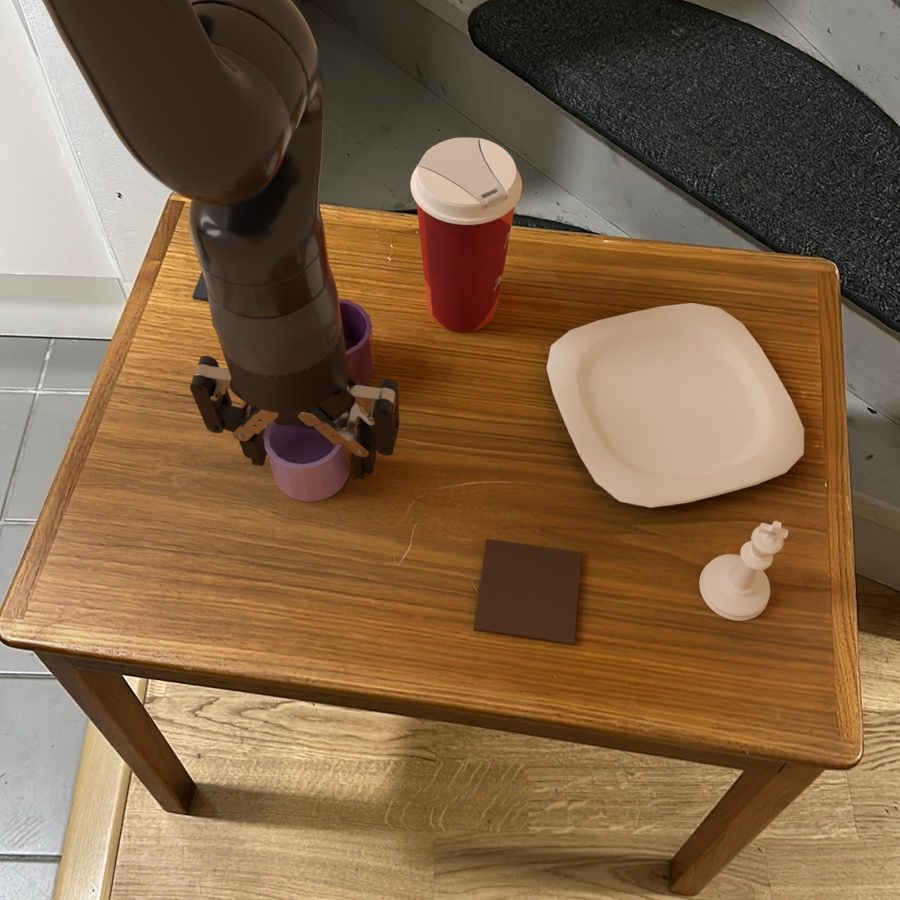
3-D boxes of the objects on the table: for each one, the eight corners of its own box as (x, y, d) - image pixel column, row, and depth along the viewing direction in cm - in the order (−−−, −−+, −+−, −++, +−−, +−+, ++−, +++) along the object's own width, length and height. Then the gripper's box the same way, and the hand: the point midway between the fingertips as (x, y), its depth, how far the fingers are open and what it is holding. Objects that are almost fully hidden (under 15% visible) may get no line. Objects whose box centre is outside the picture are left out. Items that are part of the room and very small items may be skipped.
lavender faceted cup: (265, 496, 70) (254, 462, 65) (284, 432, 73) (274, 395, 68) (341, 507, 69) (334, 473, 65) (356, 442, 72) (351, 406, 68)
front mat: (473, 630, 64) (473, 628, 64) (486, 540, 68) (486, 538, 67) (573, 645, 64) (574, 643, 63) (581, 554, 67) (582, 551, 67)
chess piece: (764, 629, 64) (814, 570, 56) (694, 609, 65) (732, 548, 57) (772, 567, 67) (821, 501, 58) (704, 549, 68) (743, 481, 59)
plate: (723, 302, 80) (728, 288, 79) (824, 475, 71) (832, 463, 70) (526, 346, 77) (528, 333, 76) (604, 532, 68) (608, 522, 67)
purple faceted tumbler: (297, 389, 75) (288, 351, 71) (313, 334, 78) (306, 294, 74) (367, 398, 74) (363, 361, 70) (380, 342, 77) (377, 303, 73)
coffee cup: (528, 316, 79) (546, 180, 66) (449, 358, 77) (452, 226, 64) (472, 256, 83) (479, 116, 70) (395, 294, 80) (387, 157, 67)
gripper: (406, 290, 58) (413, 433, 72) (183, 263, 59) (233, 409, 73) (384, 387, 54) (395, 518, 68) (145, 356, 55) (205, 492, 69)
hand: (311, 462), depth 70 cm, fingers open, 7 cm apart
